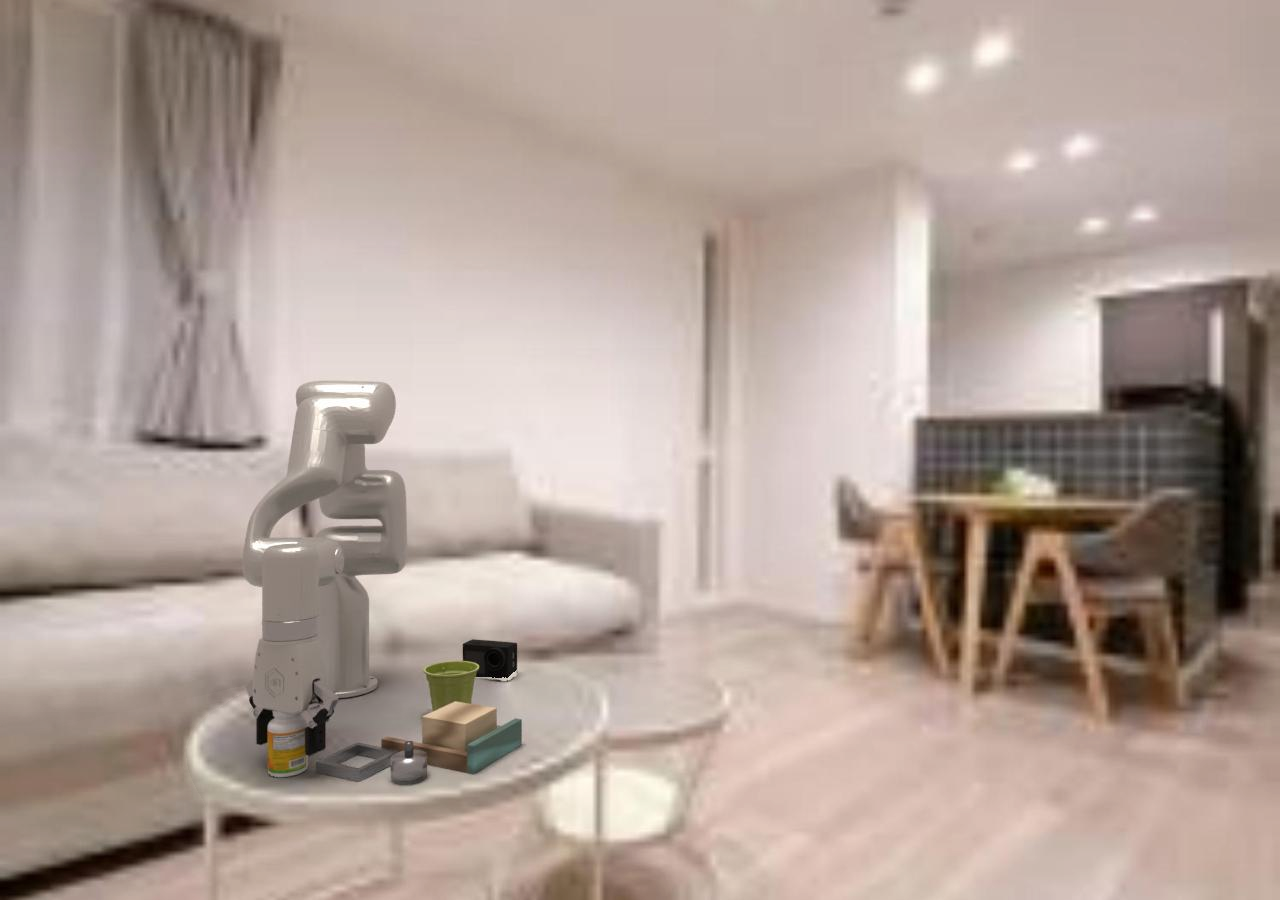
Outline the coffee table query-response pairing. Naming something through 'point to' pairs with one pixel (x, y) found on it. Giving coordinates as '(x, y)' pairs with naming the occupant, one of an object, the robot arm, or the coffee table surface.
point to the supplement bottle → (286, 745)
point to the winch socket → (377, 763)
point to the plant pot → (450, 682)
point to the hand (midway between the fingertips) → (290, 747)
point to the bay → (463, 737)
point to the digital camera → (491, 657)
